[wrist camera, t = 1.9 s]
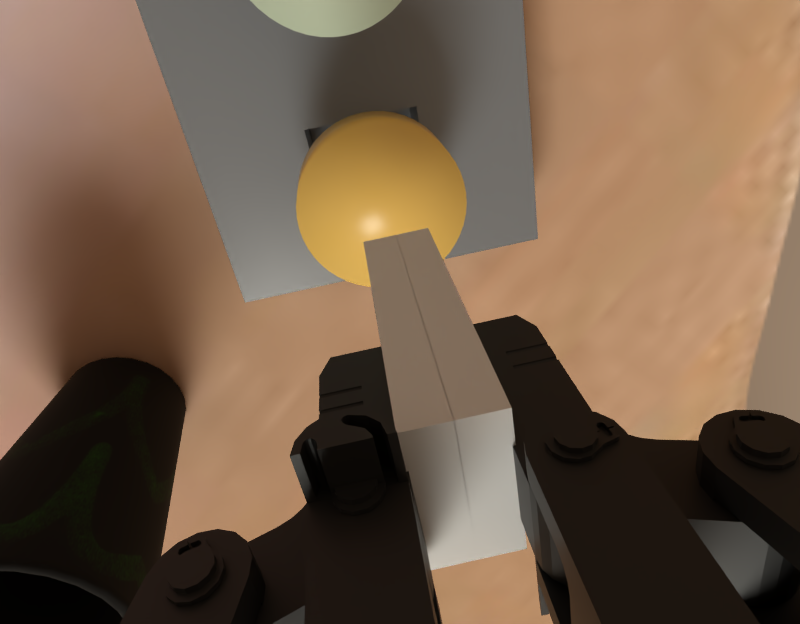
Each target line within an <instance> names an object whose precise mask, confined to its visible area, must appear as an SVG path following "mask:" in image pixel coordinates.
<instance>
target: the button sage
mask: <svg viewBox="0 0 800 624" xmlns="http://www.w3.org/2000/svg"><path fill="white" fill-rule="evenodd" d="M250 1H251V2H252V3H253V4H254V5H255V6H256V7H257V8H258V9H259V10H261V11H262V12H263V13H264V14H266V15H267V16H268V17H269V18H271V19H272V20H274V21H276V22H277V23H279V24H281V25H282V26H285V27H287V28H289V29H291V30H293V31H296V32H299V33H303V34H306V35H311V36H317V37H339V36H346V35H350V34H354V33H357V32H360V31H362V30H365V29H367V28H369V27H371V26H373V25H374V24H376V23H378V22H379V21H381V20H382V19H384V18H385V17H386V16H387V15H388V14H389V13H391V12H392V11H393V10H394V9H395V8H396V7H397V5H398V4H399V3H400V2H401V1H402V0H250Z"/></svg>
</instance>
